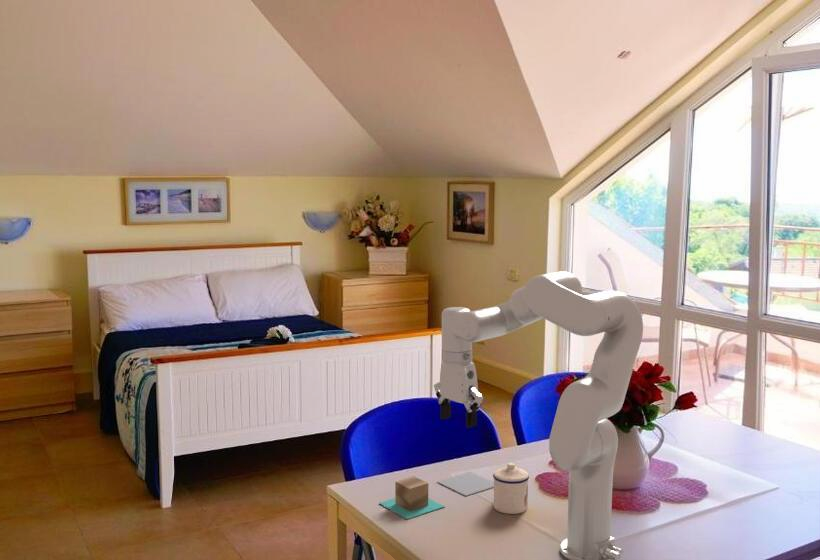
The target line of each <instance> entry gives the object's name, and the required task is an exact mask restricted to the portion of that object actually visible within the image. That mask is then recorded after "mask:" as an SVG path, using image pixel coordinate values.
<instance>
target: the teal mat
mask: <svg viewBox="0 0 820 560" xmlns="http://www.w3.org/2000/svg"><path fill="white" fill-rule="evenodd" d="M380 504H381V505H380ZM378 505H380V506H382V505H383V506H382V507H384V506H385V507H386V509H387V508H388V509H387V510H389V509H390V510H389V511H391V512H392V513H394V512H395V514H396V513H397V515H398V514H399V515H398V516H400V515H401V516H402V518H403V517H404V519H405V518H406V519H405V520H407V519H408V520H410V518H411V519H413V518H416V517H420V516H422V515H425V514H429V513H432V512H435V511H438V510H440V509H441V510H442V509H445V508H446V507H445V505H442V504H441V503H438V502H437V501H435V500H433V499H431V498H429V497H428V506H425V507H422V508H419V509H416V510H413V511H408V510H406V509H404V508H402V507H400V506H398V505H397V504H396V499H395V498H391V499H388V500H383V501H380V502H379V503H378ZM385 507H384V508H385ZM401 516H400V517H401Z"/></svg>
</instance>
